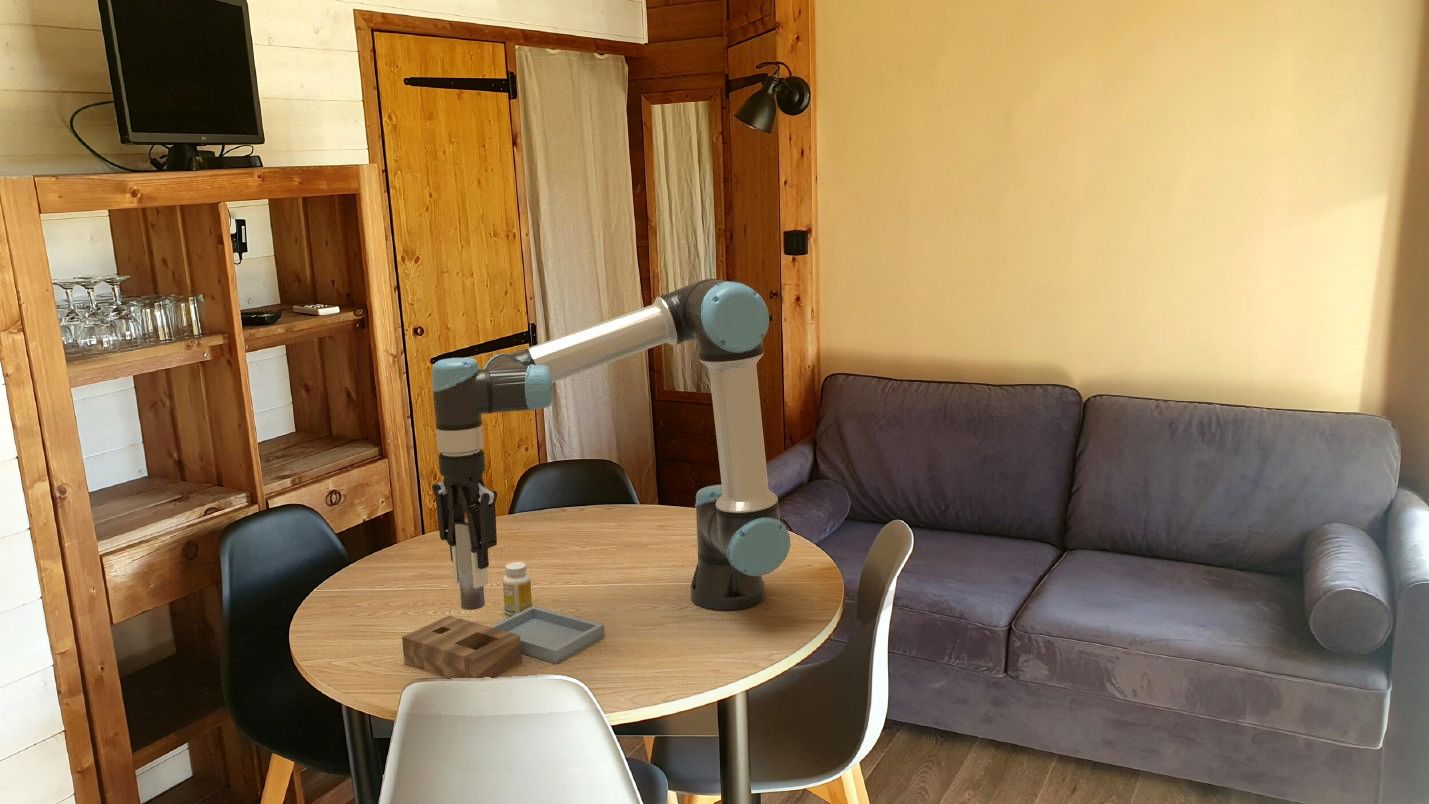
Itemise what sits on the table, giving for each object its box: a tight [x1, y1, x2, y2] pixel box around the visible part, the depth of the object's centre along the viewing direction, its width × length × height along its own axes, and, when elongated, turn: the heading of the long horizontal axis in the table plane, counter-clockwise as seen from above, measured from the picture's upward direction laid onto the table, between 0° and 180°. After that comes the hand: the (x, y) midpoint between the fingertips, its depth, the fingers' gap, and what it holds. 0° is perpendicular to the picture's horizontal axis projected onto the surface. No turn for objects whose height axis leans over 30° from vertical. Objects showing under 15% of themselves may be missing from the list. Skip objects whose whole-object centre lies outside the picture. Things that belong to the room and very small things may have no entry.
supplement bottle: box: [502, 561, 533, 617], centre depth 205 cm, size 5×5×10 cm
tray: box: [489, 605, 606, 665], centre depth 192 cm, size 18×13×2 cm
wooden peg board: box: [401, 614, 523, 679], centre depth 183 cm, size 18×11×5 cm, turn 56°
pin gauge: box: [454, 518, 486, 611], centre depth 177 cm, size 4×4×15 cm
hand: (471, 582), depth 178 cm, fingers closed on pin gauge, 4 cm apart
